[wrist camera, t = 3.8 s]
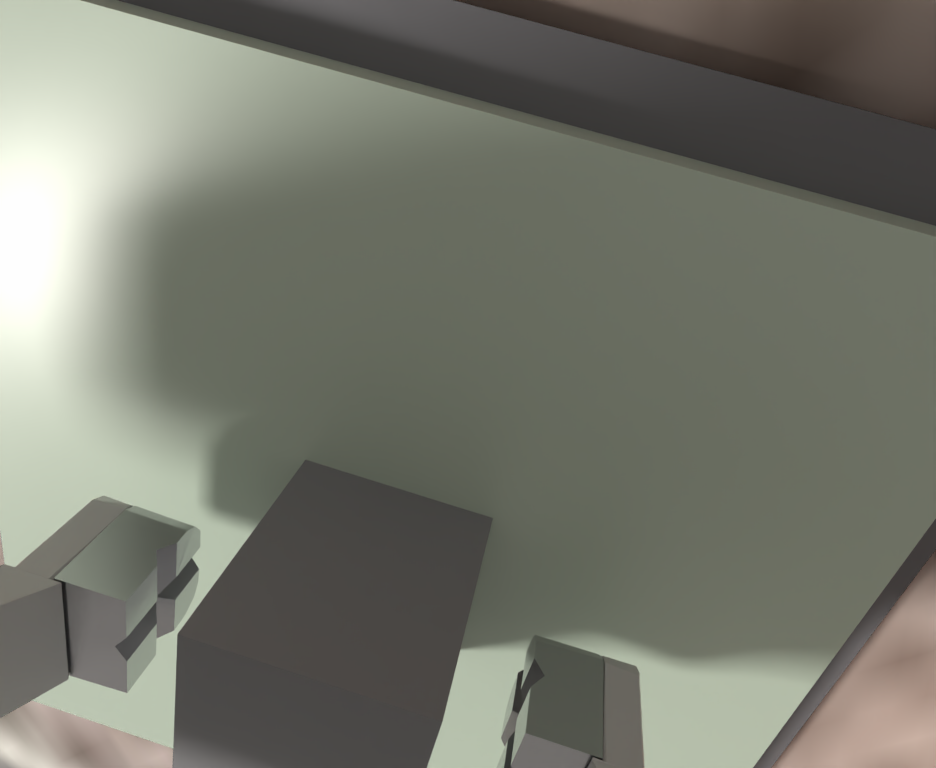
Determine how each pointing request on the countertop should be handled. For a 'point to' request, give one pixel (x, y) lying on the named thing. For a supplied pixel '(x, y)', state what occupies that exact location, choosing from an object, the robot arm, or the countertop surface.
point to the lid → (441, 397)
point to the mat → (623, 132)
